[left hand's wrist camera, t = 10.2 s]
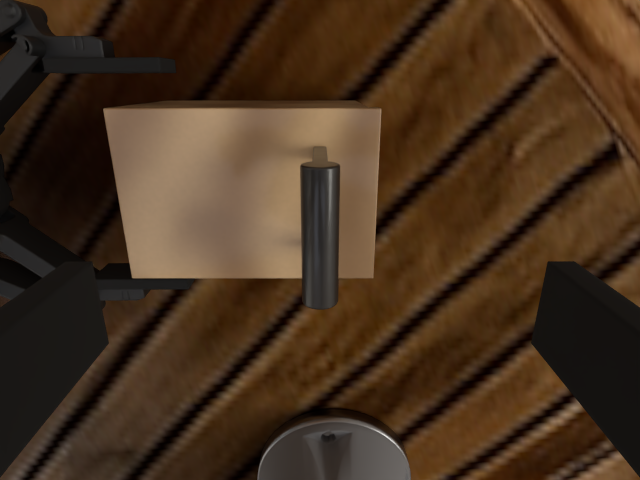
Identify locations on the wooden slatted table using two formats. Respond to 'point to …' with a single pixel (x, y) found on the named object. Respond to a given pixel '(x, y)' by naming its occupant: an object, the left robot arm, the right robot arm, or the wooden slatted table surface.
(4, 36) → the right robot arm
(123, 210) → the lid
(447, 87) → the wooden slatted table surface
